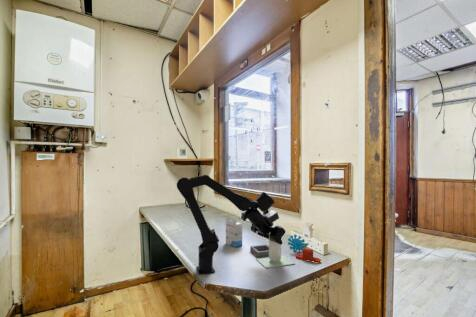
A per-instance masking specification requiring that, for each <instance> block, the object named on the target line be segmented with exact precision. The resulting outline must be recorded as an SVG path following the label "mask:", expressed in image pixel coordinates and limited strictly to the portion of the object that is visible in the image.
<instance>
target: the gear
mask: <svg viewBox="0 0 476 317" xmlns="http://www.w3.org/2000/svg"><path fill="white" fill-rule="evenodd" d="M297 237H298V238H297ZM287 241H288V242H287V245H288V246H289V250H292V251H293V253H294V254H295V253H297V254H302V251H303V248H307V247H308V246H309V243H308V242H307V243H305V242H306V240H305V239H304V238H303V239H302V237H301V236H300V235H299V236H298V235H297V234H294V235H292V234H291V235H290V237H289V238H288V239H287ZM293 249H294V250H293ZM297 251H298V252H297Z"/></svg>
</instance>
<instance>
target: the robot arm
mask: <svg viewBox="0 0 476 317" xmlns="http://www.w3.org/2000/svg"><path fill="white" fill-rule="evenodd" d="M201 186H206V187H207V188H209V189H211V190H213V191H214V192H216V193H217V194H219V195H221V196H222V197H224V198H225V199H227V200H228V201H229V202H231V204H233V205H234V206H235V207H236V208H237V209H238V210H239V211H241V216H240V219H241V220H242V221H243V222H245V221H246V220H247V219H248V221H249V222H250V223H251V226H250V231H251V232H252V233H254V234H257V235H258V236H260V237H262V238H265V239H266V240H269V238H270V240H271V241H273V242H276V243H278V244H281V245H283V240H282V238H283V236H284V235H285V233H286V229H285V228H284V227H282V226H281V227H279V226H280V225H279V226H275V227H274V228H272V227H271V226H273V225H274V222H276V221H277V220H279V219H280V216H279V214H278V211H276V210H274V209H273V210H270V209H271V207H273V206H274V204H276V202H275V200H274V199H273V198H272V197H271V196H269V195H268V194H267V193H266V192H265V191H262V192H261V193H260V195H259V196H258V197H257V198H256V199H255V200H254V199H253V198H252V199H251V198H248V197H247V196H245V195H242V194H239V193H238V192H235V191H232V190H230V189H229V188H227V187H226V186H224V185H223V184H221V183H219V182H218V181H216V180H214V179H213V178H211V177H210V176H209V175H208V174H202V175H198V176H194V177H187V176H182V177H181V178H179V179H178V180H177V182H176V188H177V190H178V191H179V193H180V194H181V196H182V197H183V198H184V200H185V201H186V203H187V206H188V207H189V209H190V212H191V215H192V217H193V218H194V221H195V224H196V226H197V227H198V228H197V229H198V230H199V233H200V236H201V240H202V242H201V244H200V245H198V265H197V266H196V271H197V273H198V275H206V274H213V273H216V270H215V268H214V266H213V264H214V263H213V262H214V261H213V260H214V254H215V253H216V252H217V251H218V249H219V247H220V246H219V243H220V239H219V237H218V235H217V234H216V229H215V228H212V229H211V228H210V227H209V225H208V223H207V221H206V218H205V215H204V214H203V212H202V210H201V207H200V204H199V201H198V200H197V197H196V195H195V192H194V191H195V190H194V189H195V188H197V187H201ZM261 212H262V213H261ZM269 233H270V235H269Z"/></svg>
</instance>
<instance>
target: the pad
mask: <svg viewBox="0 0 476 317" xmlns="http://www.w3.org/2000/svg"><path fill="white" fill-rule="evenodd" d="M255 259H256V261H257V262H258V263H259V264H260V265H261V266H262V267H263V268H265V269H272V268H273V269H274V268H279V267H285V266H286V265H287V266H292V264H294V265H296V263H295V262H294V261H293V260H291V259H289V258H288V257H287V256H286V255H284V254H281V260H279V261H273V260H270V259H269V257H261V258H257V257H256V258H255Z"/></svg>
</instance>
